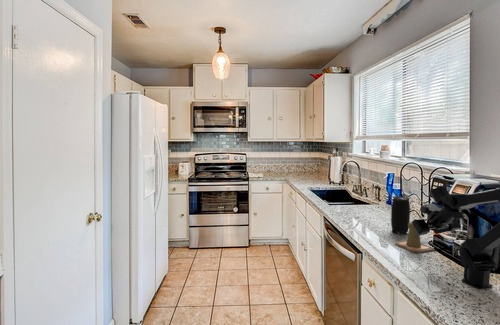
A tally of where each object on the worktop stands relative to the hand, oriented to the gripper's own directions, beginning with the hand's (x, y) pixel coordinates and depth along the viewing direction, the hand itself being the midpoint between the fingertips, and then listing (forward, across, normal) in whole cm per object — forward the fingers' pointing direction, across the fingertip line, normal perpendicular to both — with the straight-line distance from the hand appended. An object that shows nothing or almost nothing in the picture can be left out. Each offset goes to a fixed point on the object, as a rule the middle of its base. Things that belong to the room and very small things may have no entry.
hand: (425, 234), depth 129 cm
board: (+13, -5, 0) cm, 14 cm away
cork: (+12, 0, 0) cm, 12 cm away
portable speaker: (+28, -9, -15) cm, 33 cm away
